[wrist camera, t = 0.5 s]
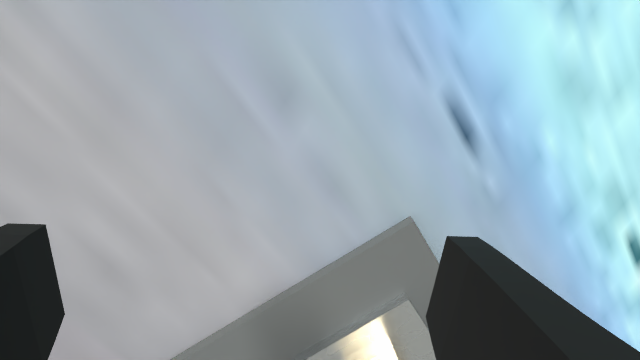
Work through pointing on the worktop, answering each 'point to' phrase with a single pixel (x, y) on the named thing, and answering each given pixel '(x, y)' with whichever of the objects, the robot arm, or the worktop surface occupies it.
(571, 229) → the worktop surface
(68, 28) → the worktop surface
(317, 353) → the beige blocky piece
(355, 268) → the mat
